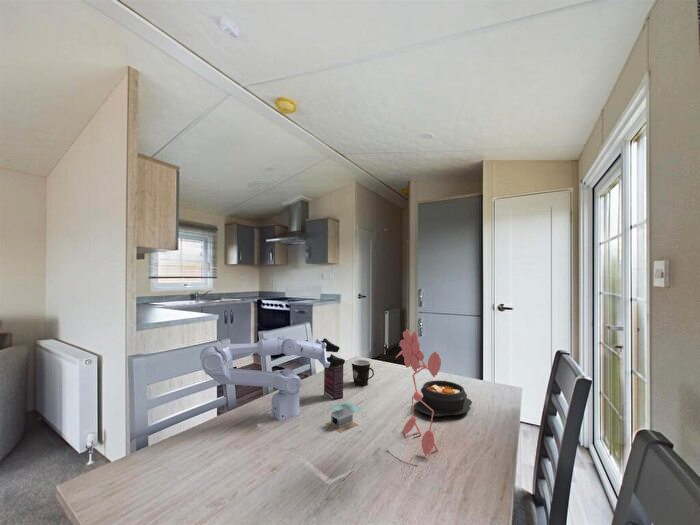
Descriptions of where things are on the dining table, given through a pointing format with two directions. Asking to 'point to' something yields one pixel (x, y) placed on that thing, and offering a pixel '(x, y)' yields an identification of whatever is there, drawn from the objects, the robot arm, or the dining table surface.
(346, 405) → the stand
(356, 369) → the coffee mug
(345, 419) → the box
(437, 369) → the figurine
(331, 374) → the supplement box
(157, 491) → the dining table surface
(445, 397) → the casserole
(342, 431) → the stand
